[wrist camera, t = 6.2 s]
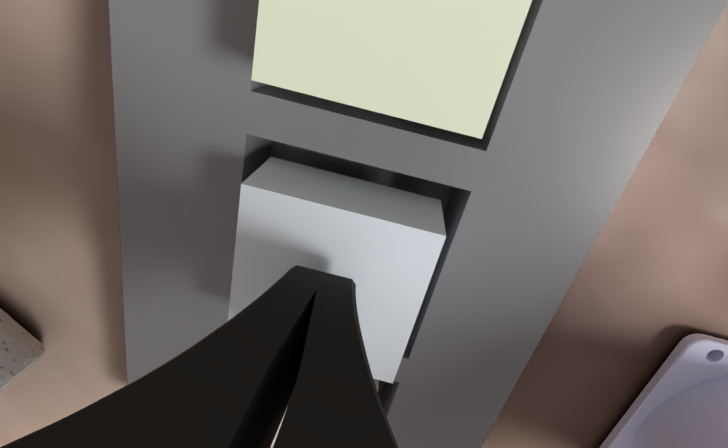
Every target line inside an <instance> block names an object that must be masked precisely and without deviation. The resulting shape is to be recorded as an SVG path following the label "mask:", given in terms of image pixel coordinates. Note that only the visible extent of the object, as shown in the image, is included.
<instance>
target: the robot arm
mask: <svg viewBox="0 0 728 448" xmlns="http://www.w3.org/2000/svg"><path fill="white" fill-rule="evenodd" d="M713 350H714V351H713ZM710 351H712V352H710ZM709 352H710V353H709ZM287 406H288V407H287ZM286 409H287V410H286ZM285 411H286V412H285ZM284 414H285V415H284ZM283 416H284V418H283ZM282 418H283V421H282ZM281 421H282V424H281V427H280V429H279V432H278V435H277V438H276V440H275V443H274V446H273V448H399V447H398V445H397V442H396V440H395V438H394V435H393V433H392V430H391V428H390V425H389V423H388V420H387V417H386V415H385V412H384V409H383V406H382V403H381V401H380V398H379V395H378V392H377V389H376V385H375V382H374V379H373V376H372V373H371V369H370V366H369V362H368V359H367V355H366V350H365V346H364V342H363V338H362V334H361V329H360V324H359V318H358V312H357V304H356V284H355V283H354V281H353V279H350V278H346V277H342V276H338V275H334V274H330V273H326V272H322V271H318V270H314V269H310V268H306V267H303V266H299V265H296V266H294V267H292V268H290V269H289V270H288V271H287V272H286V273H285V274H284V275H283V276H282V277H281V278H280V279H279V280H278V281H277V282H276V283H275V284H273V285H272V286H271V287H270V288H269V289H268V290H266V291H265V292H264V293H263V294H262V295H261V296H259V297H258V298H257V299H256V300H254V301H253V302H252V303H251V304H249V305H248V306H247V307H246V308H244V309H243V310H242V311H241V312H239V313H238V314H237V315H235V316H234V317H233V318H232V319H230V320H229V321H228V322H226V323H225V324H223V325H222V326H220V327H219V328H218V329H216V330H215V331H213V332H212V333H210V334H209V335H208V336H206V337H205V338H203V339H202V340H200V341H199V342H198V343H196V344H195V345H193V346H192V347H190V348H189V349H187V350H185V351H184V352H182V353H181V354H179V355H178V356H176V357H175V358H173V359H171V360H170V361H168V362H166V363H165V364H163V365H161V366H160V367H158V368H156V369H155V370H153V371H151V372H150V373H148V374H146V375H144V376H143V377H141V378H139V379H138V380H136V381H134V382H132V383H130V384H128V385H127V386H125V387H123V388H121V389H119V390H117V391H115V392H113V393H112V394H110V395H108V396H106V397H104V398H102V399H100V400H98V401H97V402H95V403H93V404H91V405H89V406H87V407H85V408H83V409H81V410H79V411H77V412H75V413H73V414H71V415H69V416H67V417H65V418H63V419H61V420H59V421H57V422H55V423H53V424H51V425H49V426H47V427H44V428H42V429H40V430H38V431H35V432H33V433H31V434H29V435H27V436H24V437H22V438H20V439H18V440H15V441H13V442H11V443H9V444H7V445H4V446H2V447H0V448H270V447H271V445H272V442H273V440H274V437H275V435H276V433H277V430H278V428H279V426H280V423H281ZM599 448H728V340H724V339H720V338H716V337H712V336H709V335H705V334H697V333H696V334H691V335H688V336H686V337H684V338H683V339H682V340H681V341H680V342H679V343H678V345H677V346H676V347H675V349H674V350H673V351H672V353H671V354H670V355H669V357H668V358H667V359H666V361H665V362H664V363H663V364H662V366H661V367H660V368H659V370H658V371H657V372H656V374H655V375H654V376H653V378H652V379H651V380H650V382H649V383H648V384H647V386H646V387H645V388H644V389H643V391H642V392H641V393H640V395H639V396H638V397H637V399H636V400H635V401H634V403H633V404H632V405H631V407H630V408H629V409H628V410H627V412H626V413H625V414H624V416H623V417H622V418H621V420H620V421H619V422H618V424H617V425H616V426H615V428H614V429H613V430H612V431H611V433H610V434H609V435H608V437H607V438H606V439H605V441H604V442H603V443H602V445H601V446H600V447H599Z"/></svg>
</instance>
